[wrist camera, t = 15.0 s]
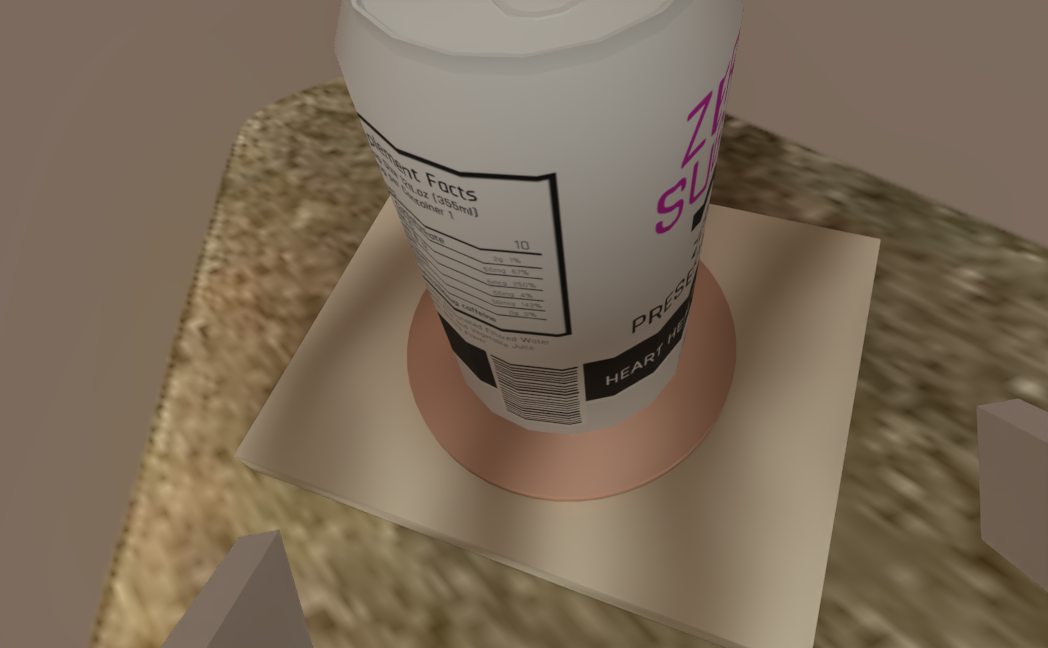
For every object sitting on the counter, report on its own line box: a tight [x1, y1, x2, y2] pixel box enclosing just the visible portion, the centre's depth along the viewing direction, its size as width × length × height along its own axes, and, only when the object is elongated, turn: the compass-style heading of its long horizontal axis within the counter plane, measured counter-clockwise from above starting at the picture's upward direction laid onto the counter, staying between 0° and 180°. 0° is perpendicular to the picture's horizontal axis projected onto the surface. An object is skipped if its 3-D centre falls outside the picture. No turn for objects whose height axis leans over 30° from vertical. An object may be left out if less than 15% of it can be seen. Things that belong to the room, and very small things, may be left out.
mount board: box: [235, 195, 881, 648], centre depth 27 cm, size 20×16×2 cm
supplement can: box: [334, 0, 744, 435], centre depth 19 cm, size 8×8×15 cm
